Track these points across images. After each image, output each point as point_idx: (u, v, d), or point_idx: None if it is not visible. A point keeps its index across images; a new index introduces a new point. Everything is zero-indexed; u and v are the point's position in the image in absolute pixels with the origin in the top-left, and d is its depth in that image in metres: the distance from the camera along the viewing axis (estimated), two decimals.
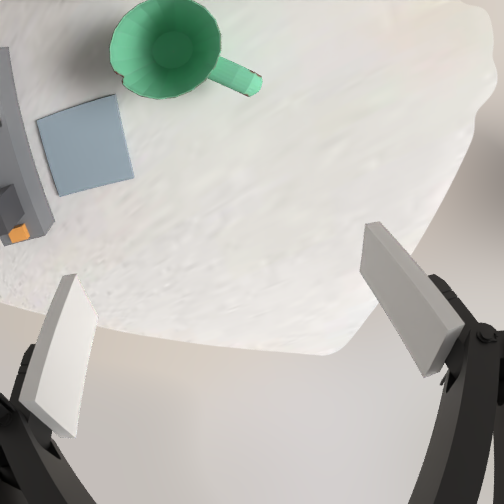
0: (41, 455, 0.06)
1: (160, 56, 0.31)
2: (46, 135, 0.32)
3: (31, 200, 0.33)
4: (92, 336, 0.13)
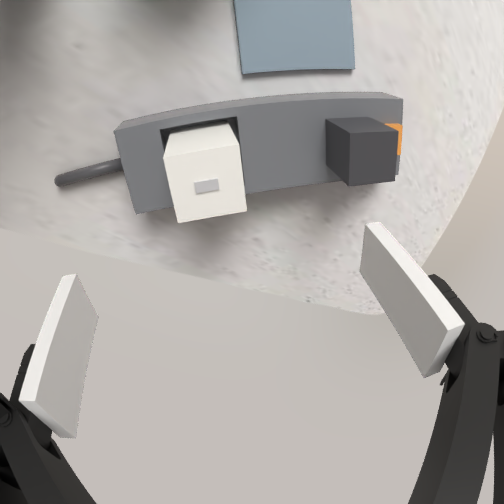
0: (41, 455, 0.06)
1: None
2: (267, 62, 0.25)
3: (354, 98, 0.25)
4: (92, 336, 0.13)
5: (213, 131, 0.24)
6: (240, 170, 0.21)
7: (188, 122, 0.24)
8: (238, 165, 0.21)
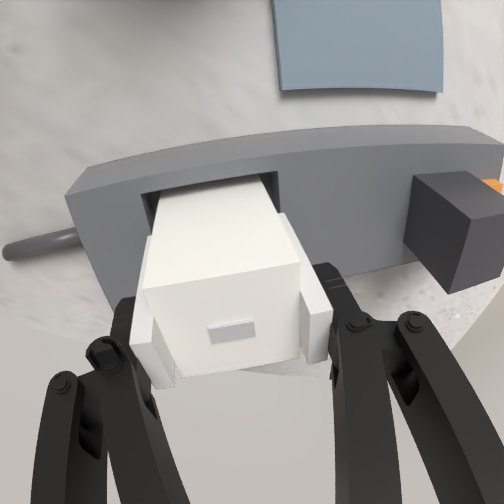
0: (144, 414, 0.08)
1: None
2: (322, 73, 0.15)
3: (453, 143, 0.15)
4: None
5: (237, 202, 0.14)
6: (297, 304, 0.11)
7: (191, 181, 0.14)
8: (294, 297, 0.11)
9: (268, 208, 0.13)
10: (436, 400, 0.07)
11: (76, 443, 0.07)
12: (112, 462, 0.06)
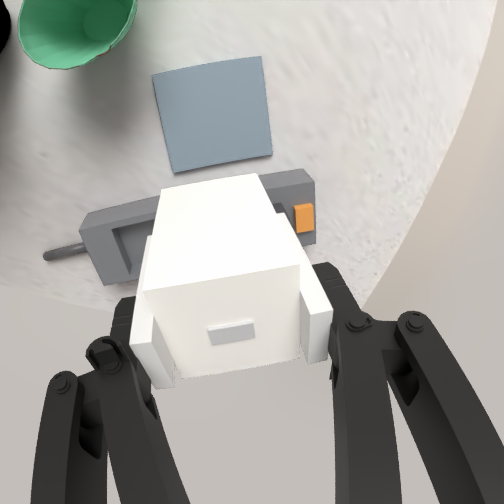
0: (144, 414, 0.08)
1: (111, 31, 0.24)
2: (192, 161, 0.33)
3: (266, 189, 0.33)
4: None
5: (237, 204, 0.14)
6: (296, 306, 0.11)
7: (131, 223, 0.32)
8: (294, 298, 0.11)
9: (268, 210, 0.13)
10: (436, 400, 0.07)
11: (76, 443, 0.07)
12: (112, 462, 0.06)
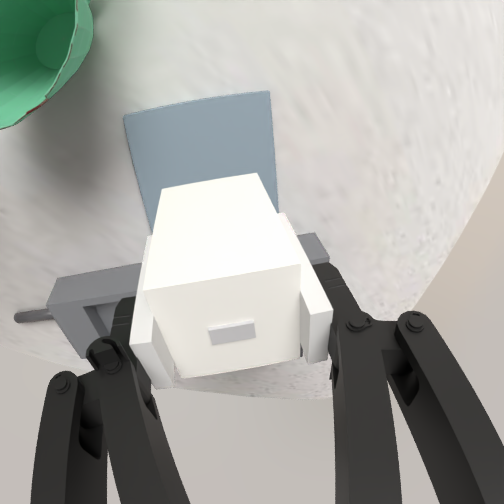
0: (144, 414, 0.08)
1: None
2: None
3: None
4: None
5: (237, 204, 0.14)
6: (297, 306, 0.11)
7: (105, 302, 0.26)
8: (294, 298, 0.11)
9: (268, 209, 0.13)
10: (436, 400, 0.07)
11: (76, 443, 0.07)
12: (112, 462, 0.06)
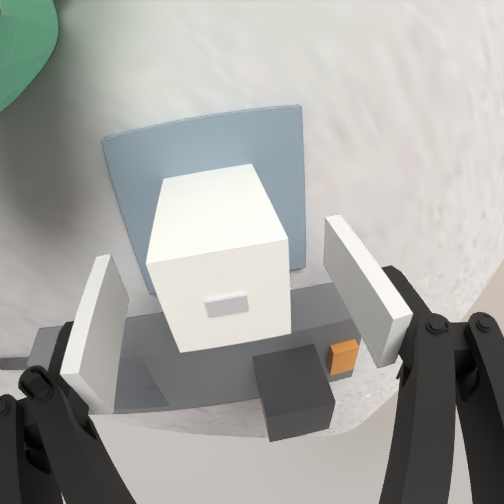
0: (79, 435, 0.07)
1: None
2: None
3: (294, 330, 0.21)
4: (124, 316, 0.14)
5: (233, 190, 0.15)
6: (286, 280, 0.12)
7: None
8: (284, 272, 0.12)
9: (261, 195, 0.14)
10: (493, 396, 0.06)
11: (24, 459, 0.06)
12: (59, 484, 0.05)
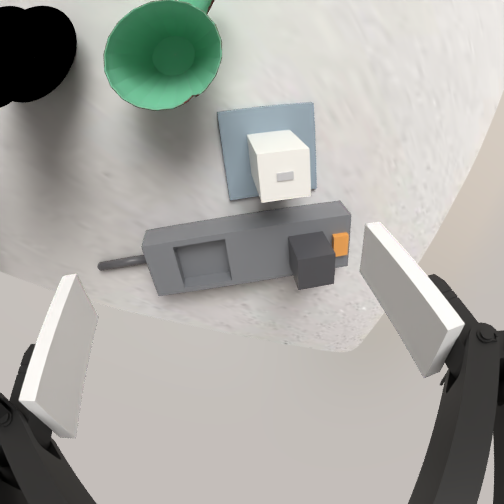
0: (41, 455, 0.06)
1: (180, 66, 0.30)
2: (247, 191, 0.39)
3: (311, 219, 0.39)
4: (92, 336, 0.13)
5: (283, 137, 0.33)
6: (308, 166, 0.30)
7: (192, 243, 0.38)
8: (307, 163, 0.30)
9: (296, 138, 0.32)
10: None
11: None
12: None
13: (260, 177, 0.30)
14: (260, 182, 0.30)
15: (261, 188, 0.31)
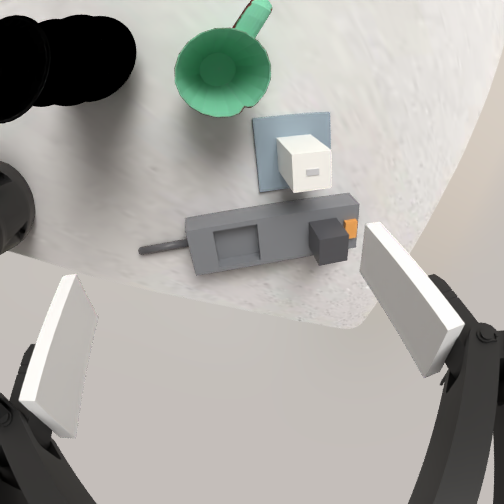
0: (41, 455, 0.06)
1: (222, 79, 0.37)
2: (275, 184, 0.47)
3: (327, 208, 0.47)
4: (91, 337, 0.13)
5: (308, 141, 0.40)
6: (330, 164, 0.38)
7: (229, 228, 0.46)
8: (330, 161, 0.38)
9: (319, 142, 0.40)
10: None
11: None
12: None
13: (293, 172, 0.38)
14: (293, 176, 0.38)
15: (294, 181, 0.38)
